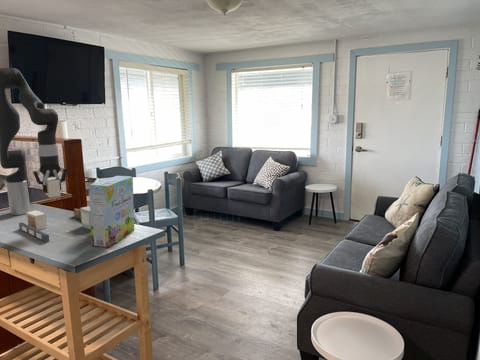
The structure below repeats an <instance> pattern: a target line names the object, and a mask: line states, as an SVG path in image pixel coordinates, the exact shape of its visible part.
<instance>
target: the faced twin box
mask: <svg viewBox="0 0 480 360" xmlns="http://www.w3.org/2000/svg"><path fill="white" fill-rule="evenodd" d="M26 220H27V225H28V226H30V227H32V228H35V229H37V230H39V231H41V230H44V229H48V225H47V216H46V212H45V213H44V212H42V211H40V210H32V211H31V210H30V212H27V213H26Z"/></svg>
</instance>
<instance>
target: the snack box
mask: <svg viewBox="0 0 480 360" xmlns="http://www.w3.org/2000/svg"><path fill="white" fill-rule="evenodd" d="M133 178H134V177H133V176H129V175H115V176H112V177H109V178H105V179H102V180H99V181H96V182H94V183H90V184H88V196H89V197H88V198H89V203H90V205H89V206H90V219H91V230H90V234H91V235H90V236H91V247H93V246H94V247H101V248H110V247H112V246H113V245H115V244H117V242H119V241H120V240H123V239H124V238H126V237H127V236H129V235H130V234H131V233H133V232H134V231H135V213H134V212H135V211H134V210H135V209H134V208H135V207H134V179H133Z"/></svg>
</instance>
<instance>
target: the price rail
mask: <svg viewBox="0 0 480 360" xmlns="http://www.w3.org/2000/svg"><path fill="white" fill-rule="evenodd" d="M18 229H19V230H20V231H21V232H23V233H26V234H28V235H31V236H32V237H34V238H37V239H38V240H40V241H43V242H45V243H49V242H50V238H49V237H50V235H49V234H48V233H46V232H43V231H41V230H37V229H35V228H32V227H30V226H28V224H26V223H24V222H19V223H18Z"/></svg>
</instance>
